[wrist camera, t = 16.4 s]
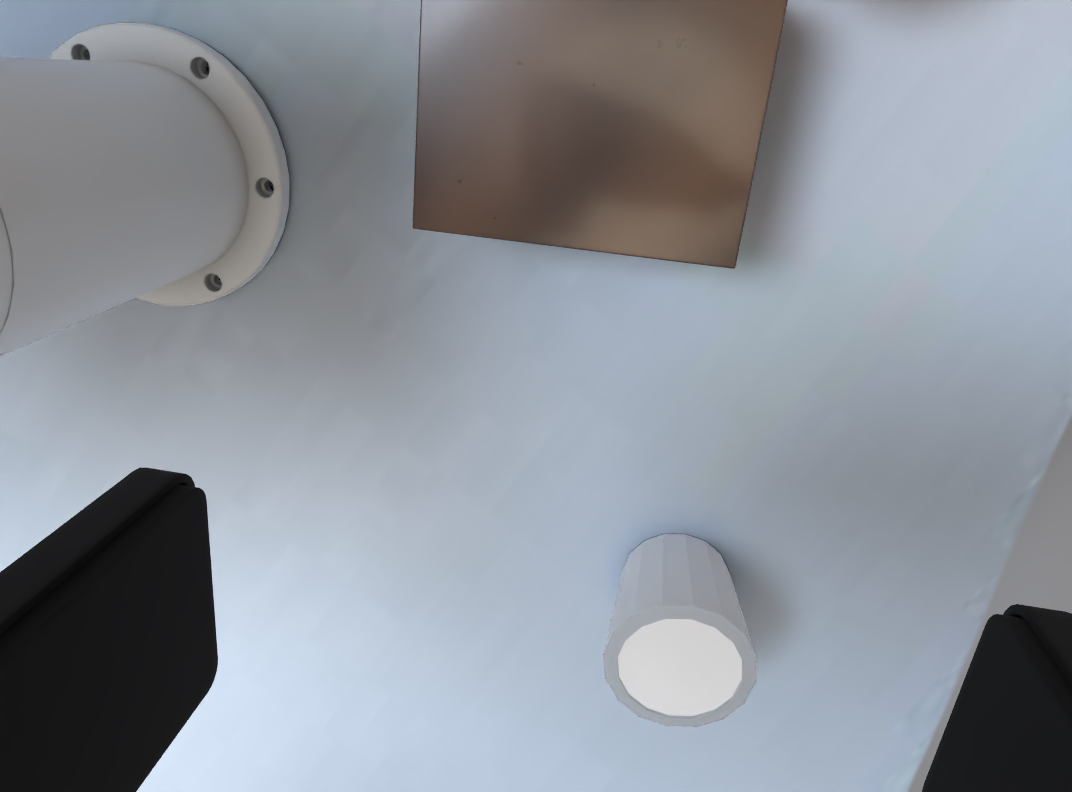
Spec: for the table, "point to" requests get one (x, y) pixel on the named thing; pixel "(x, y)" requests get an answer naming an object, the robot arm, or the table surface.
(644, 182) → the shelf
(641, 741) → the table surface
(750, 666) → the white short cylinder
